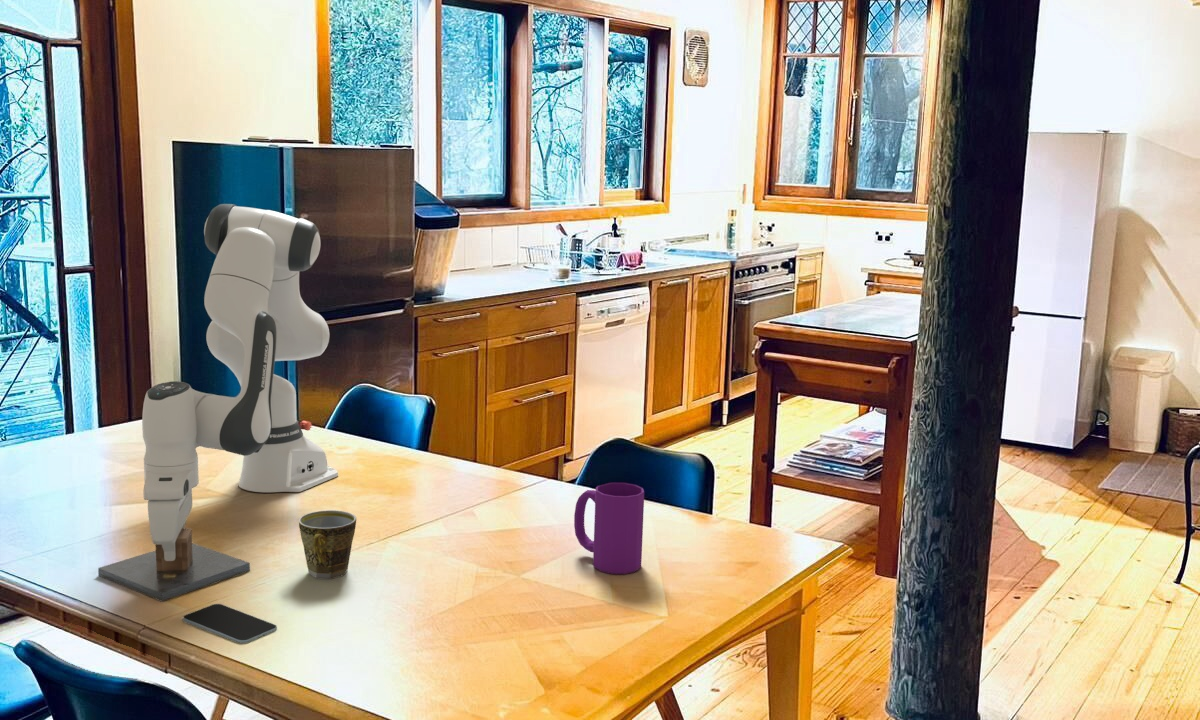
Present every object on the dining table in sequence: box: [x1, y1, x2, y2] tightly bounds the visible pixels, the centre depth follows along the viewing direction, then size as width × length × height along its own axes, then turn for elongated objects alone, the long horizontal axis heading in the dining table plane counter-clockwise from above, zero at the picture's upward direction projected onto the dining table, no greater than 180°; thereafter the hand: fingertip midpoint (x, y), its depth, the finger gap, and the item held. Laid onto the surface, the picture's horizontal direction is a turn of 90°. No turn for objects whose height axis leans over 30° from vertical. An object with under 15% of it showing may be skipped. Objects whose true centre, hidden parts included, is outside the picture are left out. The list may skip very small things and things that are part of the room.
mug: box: [573, 482, 645, 575], centre depth 214 cm, size 9×16×15 cm, turn 47°
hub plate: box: [98, 542, 251, 602], centre depth 202 cm, size 18×18×6 cm
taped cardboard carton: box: [155, 528, 193, 571], centre depth 202 cm, size 5×5×6 cm
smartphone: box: [182, 603, 278, 645], centre depth 183 cm, size 7×1×15 cm
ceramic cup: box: [298, 509, 357, 580], centre depth 204 cm, size 13×10×10 cm
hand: (174, 551), depth 202 cm, fingers open, 7 cm apart
